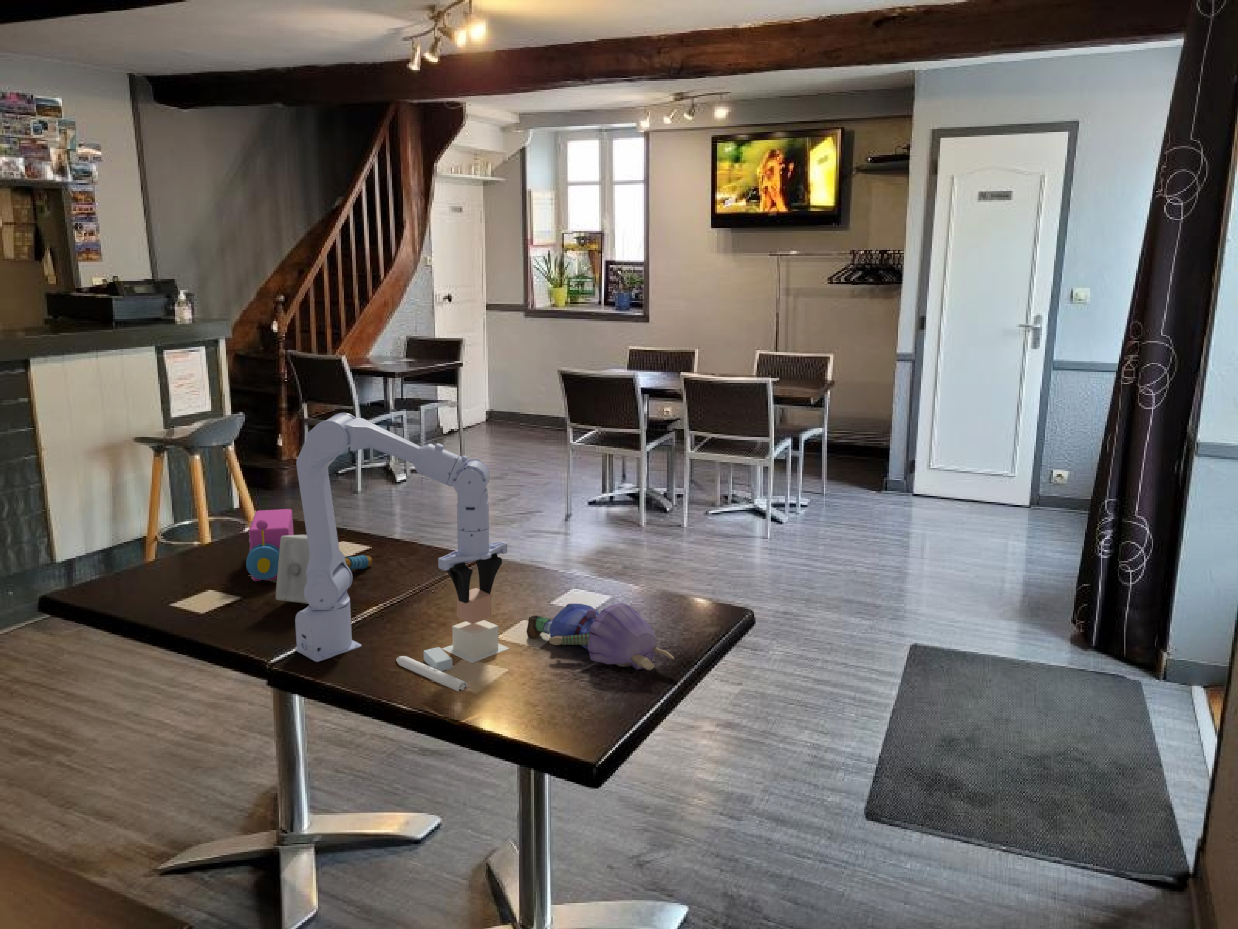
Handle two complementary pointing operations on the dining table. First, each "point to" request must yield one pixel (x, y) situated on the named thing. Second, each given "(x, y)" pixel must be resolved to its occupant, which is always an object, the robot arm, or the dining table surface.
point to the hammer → (301, 567)
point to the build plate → (472, 660)
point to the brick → (438, 659)
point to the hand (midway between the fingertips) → (474, 598)
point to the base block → (475, 638)
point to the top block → (475, 606)
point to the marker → (431, 673)
